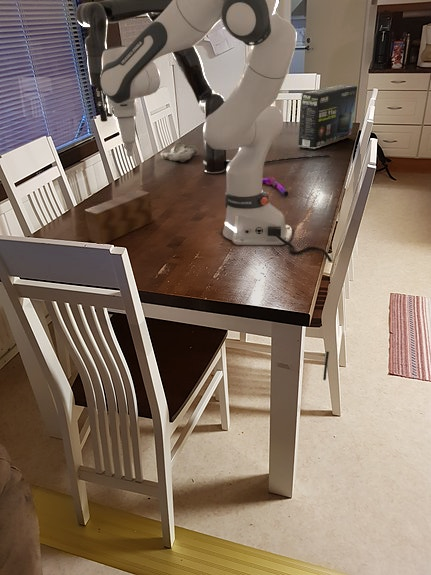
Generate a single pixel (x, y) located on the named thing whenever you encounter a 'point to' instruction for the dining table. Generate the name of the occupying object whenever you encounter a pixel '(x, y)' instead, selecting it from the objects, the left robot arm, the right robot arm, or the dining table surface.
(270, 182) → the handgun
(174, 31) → the right robot arm
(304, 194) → the dining table surface
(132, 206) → the box
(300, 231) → the dining table surface
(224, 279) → the dining table surface
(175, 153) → the fossil
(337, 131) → the router box
